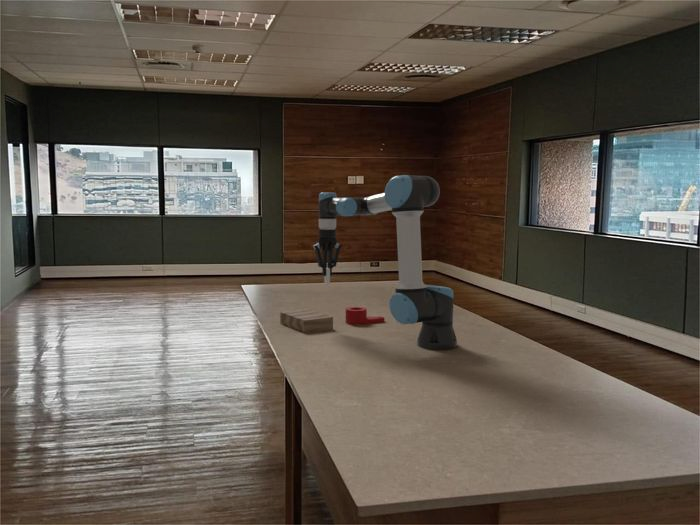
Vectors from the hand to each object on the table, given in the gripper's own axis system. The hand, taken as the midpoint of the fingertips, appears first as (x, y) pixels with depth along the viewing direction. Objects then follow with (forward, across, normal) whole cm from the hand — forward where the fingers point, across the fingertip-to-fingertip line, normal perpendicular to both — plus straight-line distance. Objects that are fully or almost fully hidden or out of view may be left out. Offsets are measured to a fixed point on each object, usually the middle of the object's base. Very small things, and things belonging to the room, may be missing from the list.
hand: (327, 283), depth 272 cm
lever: (+19, -19, 0) cm, 27 cm away
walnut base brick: (+20, +8, -3) cm, 21 cm away
